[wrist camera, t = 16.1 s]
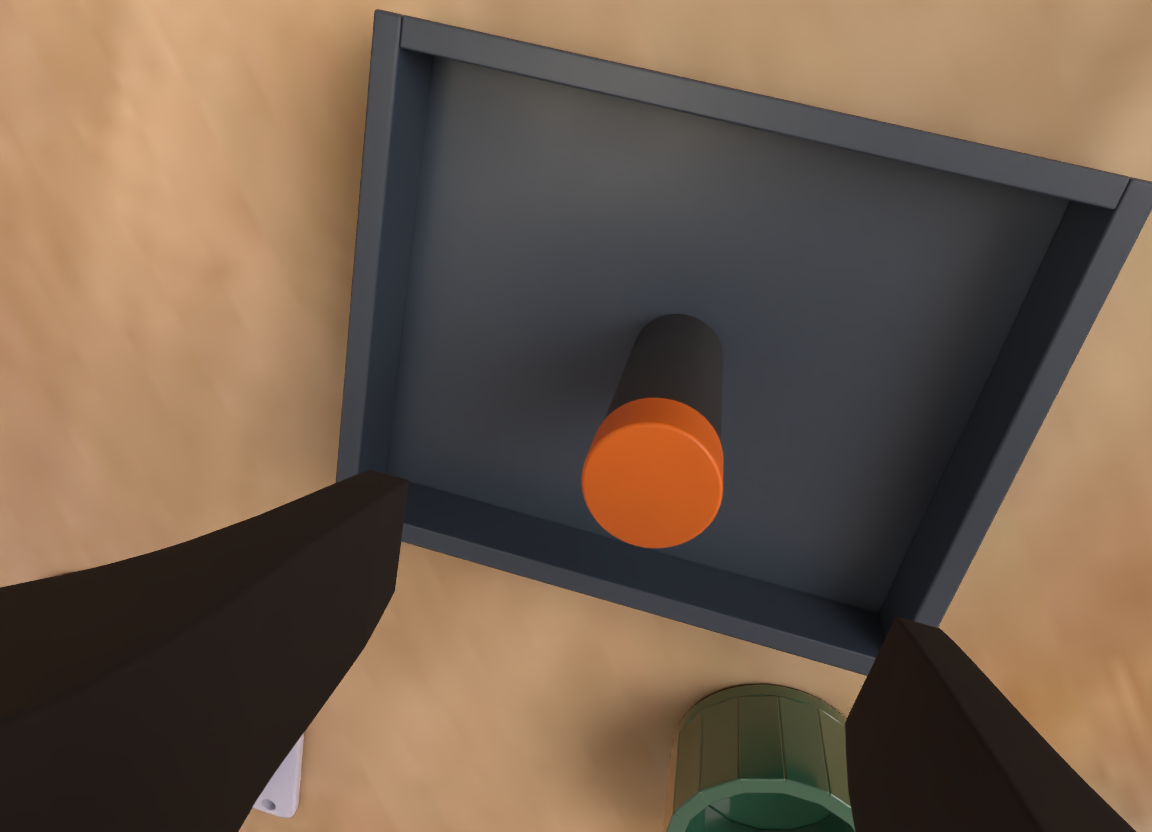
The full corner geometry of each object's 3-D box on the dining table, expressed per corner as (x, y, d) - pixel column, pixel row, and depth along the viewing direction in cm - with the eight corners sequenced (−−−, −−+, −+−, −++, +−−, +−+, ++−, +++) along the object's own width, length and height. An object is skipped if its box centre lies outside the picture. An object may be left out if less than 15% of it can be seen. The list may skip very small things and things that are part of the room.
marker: (638, 405, 19) (594, 554, 13) (623, 317, 18) (569, 431, 12) (730, 395, 19) (730, 545, 12) (719, 304, 18) (713, 415, 12)
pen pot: (652, 794, 25) (642, 895, 22) (700, 660, 22) (695, 752, 19) (827, 848, 24) (842, 960, 21) (894, 717, 22) (923, 821, 19)
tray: (372, 479, 22) (331, 522, 20) (420, 21, 17) (373, 8, 15) (888, 624, 21) (908, 688, 19) (1103, 173, 16) (1166, 185, 14)
